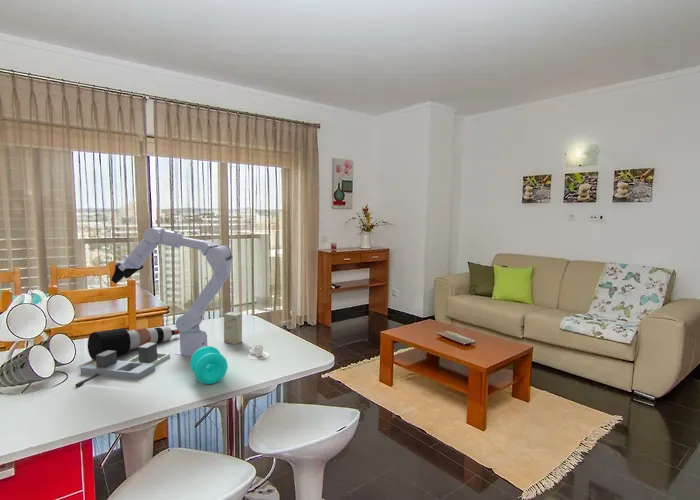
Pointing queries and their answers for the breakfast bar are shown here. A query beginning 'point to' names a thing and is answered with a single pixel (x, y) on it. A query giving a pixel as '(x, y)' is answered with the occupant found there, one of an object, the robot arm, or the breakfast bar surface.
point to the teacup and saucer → (257, 352)
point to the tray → (160, 358)
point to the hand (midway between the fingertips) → (119, 279)
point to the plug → (147, 352)
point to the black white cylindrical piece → (126, 339)
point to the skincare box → (232, 327)
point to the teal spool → (208, 365)
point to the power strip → (115, 367)
